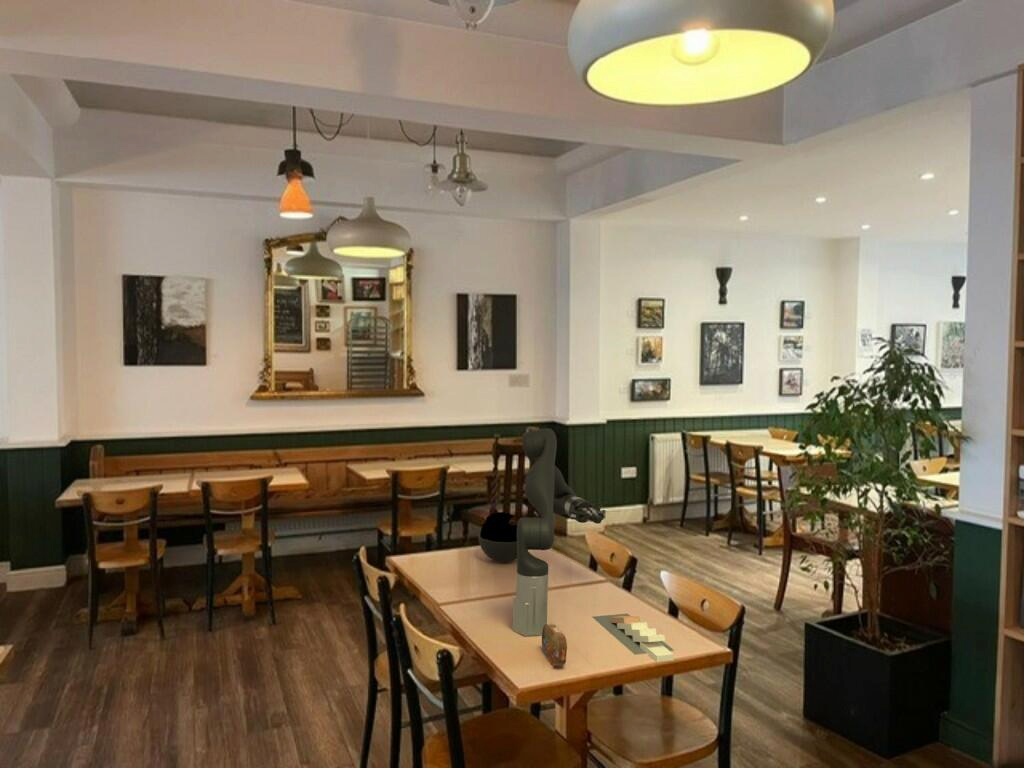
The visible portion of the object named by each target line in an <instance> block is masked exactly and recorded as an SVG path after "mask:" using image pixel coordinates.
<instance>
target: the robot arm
mask: <svg viewBox="0 0 1024 768" xmlns="http://www.w3.org/2000/svg"><path fill="white" fill-rule="evenodd" d="M557 444H558V441H557V435H556V433H555V431H554V430H553V429H552V428H549V427H548V428H540V429H535V430H531V431H527V432H525V433H523V435H522V447H523V451H524V453H525V455H526V458H527V459H528V460H529V462H530V463H531V465H532V466H531V467H530V468H529V470H528V472H527V473H526V474H525V475H526V476H525V481H524V494H525V496H526V499H527V500H528V502H529V503H530V504H531V505H532V507H533V508H534V509H535V510H536V512H538V514H539V515H540V517H520V518H519V519H518V521H517V559H516V561H517V562H516V585H515V586H516V587H515V588H516V590H515V592H516V593H515V597H514V598H513V601H512V631H514V632H515V633H517V634H519V635H521V636H524V637H527V636H533V637H534V636H540V635H541V636H542V631H543V627H544V625H545V624H548V598H549V597H548V594H549V591H548V590H549V564H548V563H547V562H546V561H545V559H544V560H543V559H541V558H539V557H537V556H534V555H533V554H532V553H531V552H530V551H531V550H532V551H548V550H550V549H551V548H552V547H553V546H554V545H553V544H554V542H555V522H554V521H555V519H554V514H556V515H567V516H569V518H570V519H571V521H572V520H574V521H576V522H578V523H581V524H583V523H584V524H585V523H587V522H590V523H592V522H593V523H595V524H597V525H599V524H601V523H602V522H603V520H605V518H606V512H607V511H606V510H605V509H602V510H600V511H599V510H598V509H595V508H594V506H593V505H592V504H591V502H589V501H587V500H585V499H584V498H583V497H578V496H577V495H576V493H575V491H574V490H573V489H572V488H571V487H570V486H568V484H567V482H566V481H565V479H564V476H563V474H562V471H561V470H560V469H559V468H558V467H557V466H555V465H556V464H555V463H556V456H557V450H558V449H557V446H558V445H557ZM529 550H530V551H529Z"/></svg>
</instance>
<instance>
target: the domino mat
mask: <svg viewBox="0 0 1024 768" xmlns="http://www.w3.org/2000/svg"><path fill="white" fill-rule="evenodd" d="M618 616H631V615H630V614H628V613H621V614H618V613H617V614H616V613H615V614H607V615H595V616H592V618H593V619H594V620H595V621H596V622H597V623H598V624H599V625H600V626H602V627H603V628H604V629H605V630H606V631H607V632H609V634H611V635H612V636H613V637H614V638H615V639H616V640H617V641H619V643H620V644H621V645H623V646H624V647H625V648H626V649H628V650H629V651H630V652H631V653H632V654H633V655H644V654H647V653H646V652H644V651H643V650H642V649H641V648H640V642H633V637H632V636H633V635H625V629H617V623H611V622H610V617H618ZM658 642H659V643H660V644H662V645H663V646H664V647H665V648H667V649H668V650H669V651H670V652H674V651H675V649H673V648H672V647H671V646H669V645H668V644H667V643H666V642H665V641H658Z"/></svg>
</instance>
